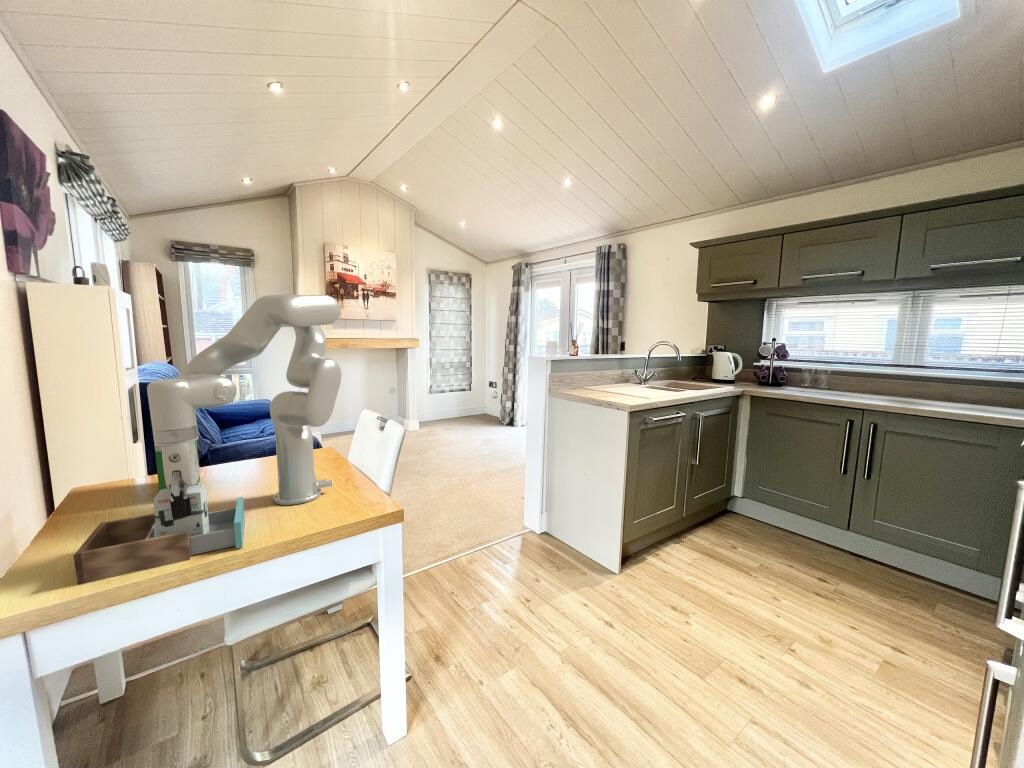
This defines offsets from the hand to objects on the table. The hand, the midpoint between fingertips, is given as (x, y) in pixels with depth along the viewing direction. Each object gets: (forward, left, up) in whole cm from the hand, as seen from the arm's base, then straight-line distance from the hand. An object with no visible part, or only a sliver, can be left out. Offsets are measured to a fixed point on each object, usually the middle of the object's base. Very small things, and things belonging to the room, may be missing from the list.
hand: (185, 507), depth 91 cm
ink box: (+1, 0, -8) cm, 8 cm away
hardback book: (+7, -42, -9) cm, 43 cm away
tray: (-1, 0, -9) cm, 9 cm away
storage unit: (+7, 0, -9) cm, 11 cm away
